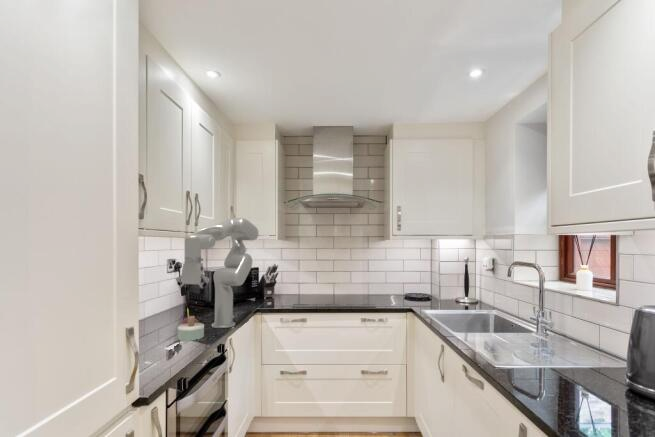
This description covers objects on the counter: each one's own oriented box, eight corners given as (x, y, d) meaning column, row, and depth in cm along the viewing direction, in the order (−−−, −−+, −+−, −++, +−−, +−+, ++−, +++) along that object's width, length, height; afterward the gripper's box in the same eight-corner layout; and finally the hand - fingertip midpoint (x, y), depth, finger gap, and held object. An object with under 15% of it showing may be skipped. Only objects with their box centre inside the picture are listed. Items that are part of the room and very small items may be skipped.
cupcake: (176, 331, 184) (177, 308, 185) (191, 328, 191) (191, 305, 192) (187, 334, 179) (187, 310, 180) (201, 330, 186) (202, 307, 187)
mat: (176, 343, 163) (176, 342, 163) (196, 345, 162) (197, 343, 162) (163, 350, 154) (163, 349, 154) (184, 351, 152) (184, 350, 152)
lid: (186, 324, 179) (186, 313, 180) (208, 325, 177) (209, 314, 177) (172, 330, 168) (172, 318, 168) (195, 331, 165) (195, 319, 166)
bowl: (186, 334, 178) (186, 324, 179) (207, 335, 177) (207, 325, 177) (173, 341, 167) (173, 330, 168) (195, 342, 166) (195, 331, 166)
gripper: (213, 260, 176) (212, 295, 176) (181, 259, 179) (180, 294, 179) (205, 261, 169) (205, 298, 168) (172, 261, 172) (171, 296, 171)
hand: (192, 295), depth 174 cm, fingers open, 9 cm apart
